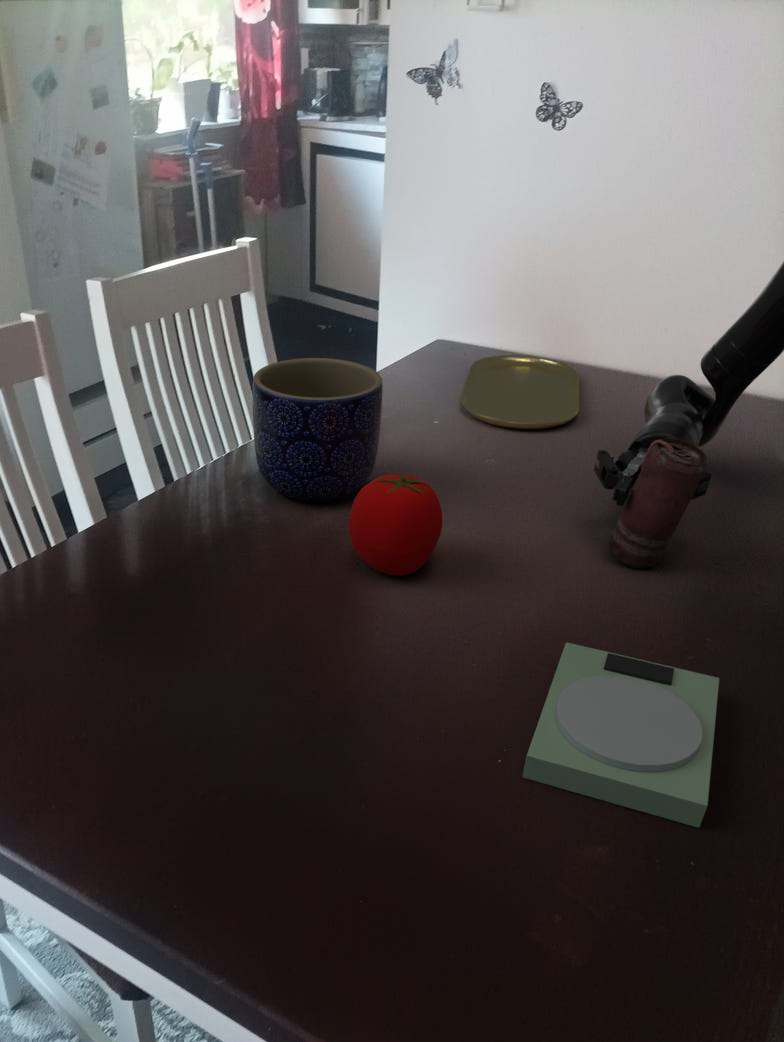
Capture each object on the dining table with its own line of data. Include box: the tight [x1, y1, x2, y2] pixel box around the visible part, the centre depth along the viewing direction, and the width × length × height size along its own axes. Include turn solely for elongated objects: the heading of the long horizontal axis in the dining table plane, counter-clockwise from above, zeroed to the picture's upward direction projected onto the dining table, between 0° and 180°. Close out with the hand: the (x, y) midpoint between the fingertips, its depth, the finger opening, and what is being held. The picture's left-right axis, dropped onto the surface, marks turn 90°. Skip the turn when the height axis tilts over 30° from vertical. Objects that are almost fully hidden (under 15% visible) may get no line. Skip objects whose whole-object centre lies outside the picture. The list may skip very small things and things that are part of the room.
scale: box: [522, 641, 720, 829], centre depth 79 cm, size 18×14×3 cm
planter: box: [252, 357, 383, 503], centre depth 118 cm, size 17×16×15 cm
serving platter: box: [460, 354, 580, 431], centre depth 152 cm, size 19×35×2 cm, turn 166°
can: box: [608, 438, 708, 570], centre depth 101 cm, size 6×6×14 cm
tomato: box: [348, 473, 443, 577], centre depth 101 cm, size 10×11×11 cm
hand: (635, 501), depth 100 cm, fingers closed
